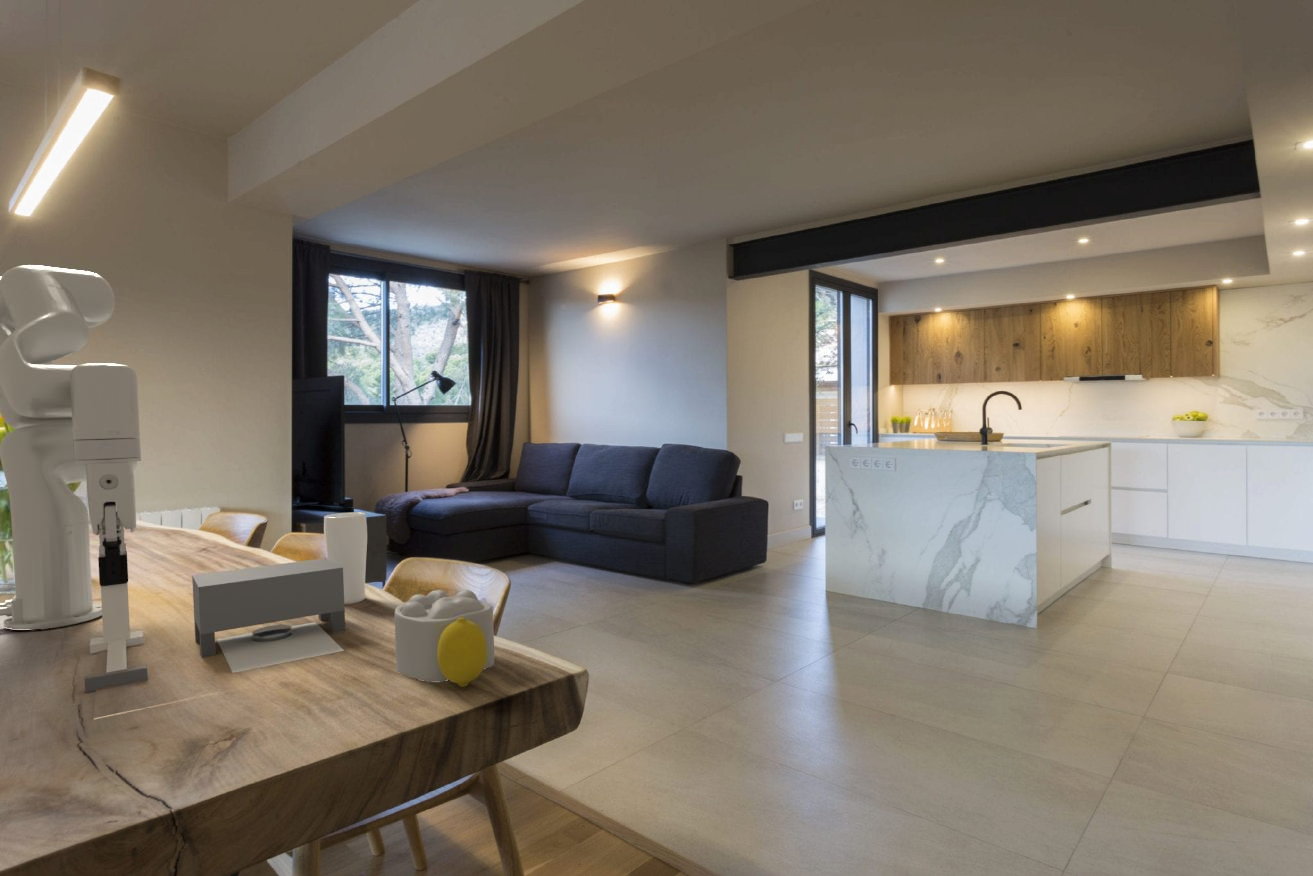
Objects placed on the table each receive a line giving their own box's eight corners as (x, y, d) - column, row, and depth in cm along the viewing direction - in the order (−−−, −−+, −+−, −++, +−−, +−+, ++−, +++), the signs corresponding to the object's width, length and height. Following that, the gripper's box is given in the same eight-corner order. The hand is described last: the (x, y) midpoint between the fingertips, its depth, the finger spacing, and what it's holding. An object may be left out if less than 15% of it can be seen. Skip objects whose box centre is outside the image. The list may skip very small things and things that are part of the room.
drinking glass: (326, 600, 127) (323, 514, 127) (368, 595, 130) (365, 511, 130) (327, 608, 121) (323, 518, 121) (371, 603, 124) (367, 515, 124)
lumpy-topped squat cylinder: (431, 687, 84) (428, 612, 84) (377, 663, 93) (374, 596, 93) (505, 663, 92) (503, 594, 92) (449, 643, 101) (447, 581, 100)
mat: (232, 674, 90) (232, 672, 90) (217, 640, 105) (216, 639, 105) (344, 652, 98) (344, 650, 98) (315, 623, 112) (315, 622, 112)
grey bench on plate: (201, 658, 97) (198, 587, 96) (195, 641, 105) (192, 575, 105) (345, 631, 107) (342, 567, 107) (329, 617, 115) (327, 557, 115)
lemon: (492, 677, 87) (490, 610, 86) (482, 695, 81) (480, 623, 81) (445, 679, 86) (442, 612, 86) (432, 697, 81) (429, 625, 81)
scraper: (85, 692, 85) (78, 571, 85) (91, 646, 103) (86, 546, 103) (147, 680, 89) (142, 564, 88) (142, 638, 107) (138, 541, 106)
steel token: (255, 644, 102) (254, 637, 102) (250, 636, 106) (250, 629, 106) (294, 637, 105) (294, 630, 105) (288, 629, 109) (288, 622, 109)
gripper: (142, 452, 98) (148, 588, 99) (139, 449, 112) (145, 569, 112) (70, 455, 94) (77, 597, 94) (76, 452, 107) (82, 577, 108)
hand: (114, 581), depth 103 cm, fingers closed on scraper, 3 cm apart
